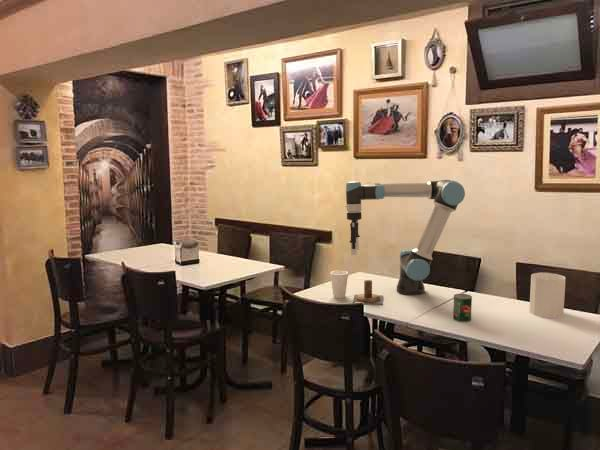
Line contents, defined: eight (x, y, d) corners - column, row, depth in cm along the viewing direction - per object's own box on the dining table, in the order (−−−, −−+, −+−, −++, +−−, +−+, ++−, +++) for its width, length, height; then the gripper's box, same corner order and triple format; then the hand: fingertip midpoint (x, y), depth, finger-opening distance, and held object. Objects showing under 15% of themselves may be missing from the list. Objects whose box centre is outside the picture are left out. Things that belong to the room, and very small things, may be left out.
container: (549, 320, 230) (551, 281, 227) (522, 311, 242) (524, 274, 240) (569, 315, 236) (572, 277, 234) (542, 307, 249) (544, 271, 246)
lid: (379, 296, 269) (380, 278, 268) (379, 302, 257) (379, 284, 256) (357, 295, 271) (357, 277, 270) (355, 302, 259) (355, 283, 258)
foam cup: (348, 298, 268) (348, 274, 266) (331, 298, 268) (330, 274, 266) (347, 293, 277) (347, 270, 275) (330, 293, 277) (330, 270, 275)
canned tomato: (468, 323, 227) (469, 299, 225) (451, 320, 231) (451, 297, 230) (473, 318, 234) (473, 295, 232) (455, 315, 238) (456, 292, 236)
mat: (382, 296, 270) (382, 295, 270) (382, 304, 256) (382, 303, 256) (354, 295, 273) (354, 294, 273) (352, 303, 258) (352, 302, 258)
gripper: (348, 209, 274) (349, 247, 277) (344, 215, 249) (345, 257, 252) (362, 208, 272) (363, 247, 275) (359, 214, 248) (360, 257, 251)
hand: (355, 252), depth 264 cm, fingers open, 13 cm apart
